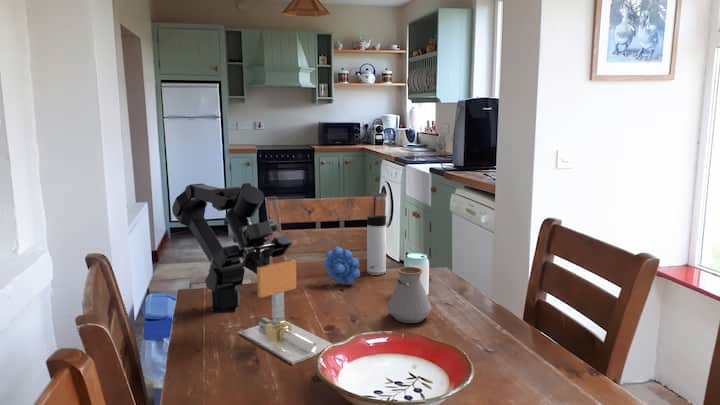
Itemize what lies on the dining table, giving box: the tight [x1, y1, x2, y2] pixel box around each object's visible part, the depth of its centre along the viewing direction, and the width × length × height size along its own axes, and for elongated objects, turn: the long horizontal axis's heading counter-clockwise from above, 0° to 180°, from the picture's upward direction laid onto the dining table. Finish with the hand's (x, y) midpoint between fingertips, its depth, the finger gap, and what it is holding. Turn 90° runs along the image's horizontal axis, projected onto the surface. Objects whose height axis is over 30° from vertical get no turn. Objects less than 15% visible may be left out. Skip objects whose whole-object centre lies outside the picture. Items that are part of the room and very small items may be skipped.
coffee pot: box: [387, 266, 432, 324], centre depth 132 cm, size 21×12×15 cm, turn 165°
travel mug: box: [366, 214, 387, 275], centre depth 175 cm, size 6×7×20 cm
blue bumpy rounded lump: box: [323, 246, 361, 285], centre depth 163 cm, size 12×7×12 cm, turn 78°
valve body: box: [239, 317, 333, 365], centre depth 124 cm, size 22×12×3 cm, turn 43°
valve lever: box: [256, 258, 297, 325], centre depth 125 cm, size 2×10×15 cm, turn 132°
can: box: [404, 252, 430, 296], centre depth 155 cm, size 7×7×12 cm
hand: (268, 280), depth 127 cm, fingers closed
